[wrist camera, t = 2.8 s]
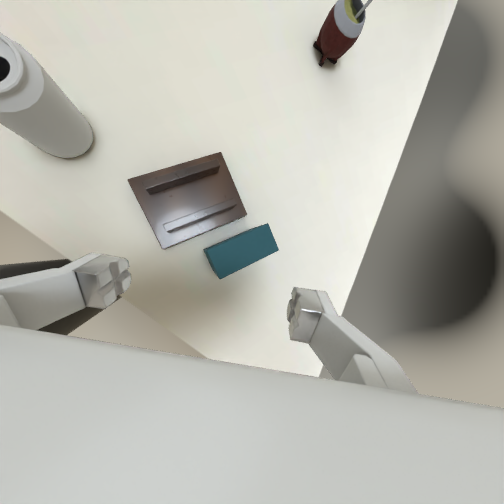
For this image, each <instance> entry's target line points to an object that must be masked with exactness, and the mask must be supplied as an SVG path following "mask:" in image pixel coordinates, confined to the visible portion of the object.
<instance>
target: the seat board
mask: <svg viewBox="0 0 504 504" xmlns="http://www.w3.org/2000/svg"><path fill="white" fill-rule="evenodd" d="M128 182H129V184H130V186H131V188H132V190H133V192H134V194H135V196H136V198H137V200H138V202H139V204H140V206H141V208H142V210H143V212H144V214H145V216H146V218H147V219H148V221H149V223H150V225H151V227H152V229H153V231H154V233H155V235H156V237H157V239H158V241H159V243H160V245H161V247H162V249H166V248H169V247H171V246H173V245H176V244H178V243H181V242H183V241H186V240H188V239H190V238H193V237H195V236H198V235H200V234H203V233H205V232H207V231H210V230H212V229H215V228H217V227H219V226H222V225H224V224H227V223H229V222H232V221H234V220H236V219H239V218H241V217H244V216H246V215H247V213H246V210H245V208H244V206H243V203H242V201H241V199H240V196H239V194H238V191H237V189H236V187H235V184H234V182H233V179H232V177H231V175H230V172H229V170H228V168H227V165H226V163H225V160H224V158H223V156H222V153H221V152H219V153H215V154H212V155H209V156H205V157H202V158H198V159H195V160H192V161H188V162H185V163H182V164H178V165H175V166H171V167H168V168H165V169H161V170H158V171H155V172H151V173H148V174H144V175H141V176H138V177H134V178H131V179H128Z"/></svg>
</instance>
